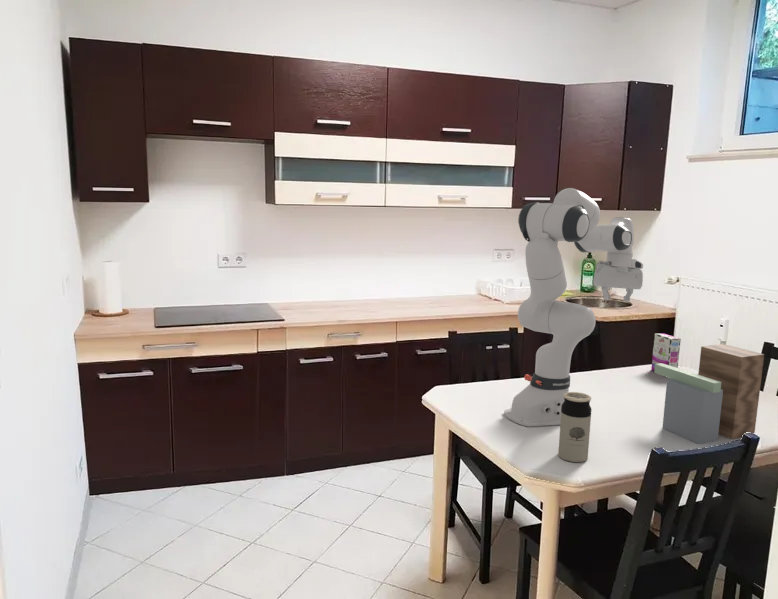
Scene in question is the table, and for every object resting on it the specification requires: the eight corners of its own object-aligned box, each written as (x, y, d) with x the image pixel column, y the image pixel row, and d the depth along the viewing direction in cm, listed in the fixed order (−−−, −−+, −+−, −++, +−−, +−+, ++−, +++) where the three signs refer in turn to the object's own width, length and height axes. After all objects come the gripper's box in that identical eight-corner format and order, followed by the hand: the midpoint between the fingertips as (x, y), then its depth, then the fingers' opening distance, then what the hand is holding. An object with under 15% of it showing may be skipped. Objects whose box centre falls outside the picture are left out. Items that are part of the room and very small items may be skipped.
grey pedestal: (698, 444, 177) (704, 392, 175) (662, 428, 190) (667, 380, 187) (717, 440, 180) (723, 390, 178) (680, 424, 193) (685, 377, 190)
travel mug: (559, 449, 172) (563, 390, 169) (588, 454, 169) (593, 393, 166) (556, 460, 165) (560, 398, 162) (586, 465, 162) (591, 402, 159)
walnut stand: (731, 439, 181) (741, 357, 177) (693, 423, 194) (701, 346, 190) (754, 434, 185) (764, 354, 181) (714, 419, 198) (723, 344, 194)
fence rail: (713, 392, 175) (714, 383, 174) (654, 372, 195) (655, 364, 194) (720, 391, 176) (721, 382, 176) (661, 371, 196) (661, 363, 196)
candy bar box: (677, 377, 246) (681, 338, 244) (666, 377, 246) (670, 339, 243) (660, 369, 257) (664, 332, 255) (650, 369, 256) (653, 333, 254)
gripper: (603, 260, 209) (600, 299, 209) (646, 264, 217) (644, 302, 217) (590, 260, 215) (588, 298, 215) (633, 264, 222) (631, 301, 223)
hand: (616, 300), depth 216 cm, fingers open, 8 cm apart
